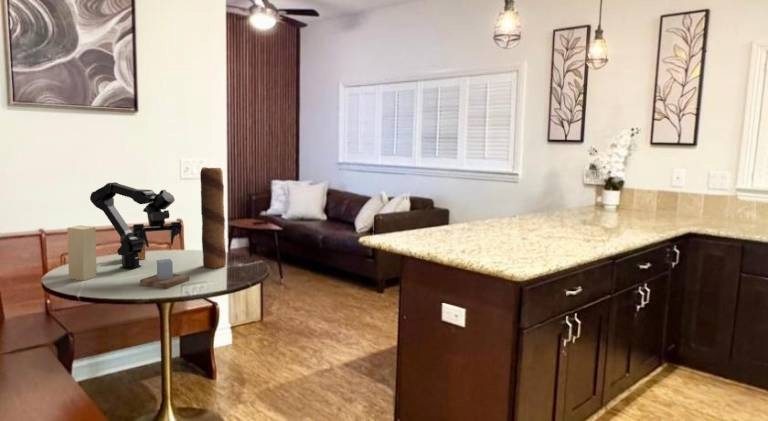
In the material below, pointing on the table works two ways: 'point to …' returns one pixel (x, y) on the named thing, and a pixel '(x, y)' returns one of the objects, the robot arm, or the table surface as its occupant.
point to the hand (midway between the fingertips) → (160, 245)
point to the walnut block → (164, 281)
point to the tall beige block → (82, 252)
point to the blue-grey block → (164, 269)
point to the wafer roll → (213, 217)
